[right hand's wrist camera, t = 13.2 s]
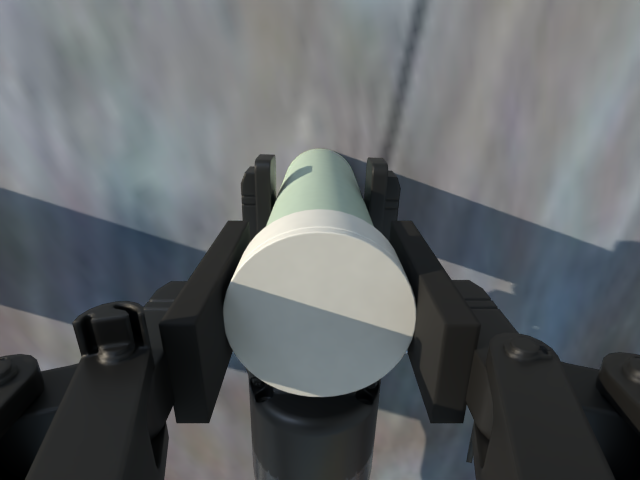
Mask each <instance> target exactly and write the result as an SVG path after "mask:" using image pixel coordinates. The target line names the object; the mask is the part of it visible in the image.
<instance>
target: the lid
mask: <svg viewBox="0 0 640 480" xmlns="http://www.w3.org/2000/svg"><path fill="white" fill-rule="evenodd" d="M416 312H417V308H416V301H415V296H414V293H413V290H412V287H411V285H410V283H409V280H408V278H407V276H406V274H405V271H404V269H403V267H402V265H401V263H400V260H399V258H398V256H397V254H396V252H395V250H394V248H393V247H392V245H391V244H390V243H389V241H388V240H387V239H386V238H385V237H384V236H383V234H382V233H381V232H379V231H378V230H377V229H376V228H375V227H373V226H372V225H371V224H369V223H367V222H366V221H364V220H362V219H360V218H358V217H356V216H353V215H351V214H347V213H344V212H340V211H334V210H324V209H314V210H305V211H300V212H295V213H292V214H289V215H286V216H284V217H282V218H280V219H278V220H276V221H274V222H272V223H271V224H269V225H268V226H266V227H265V228H264V229H262V230H261V231H260V232H259V233H258V234H257V235H256V236H255V237H254V238H253V240H252V241H251V242H250V243H249V245H248V246H247V248H246V250H245V251H244V253H243V255H242V257H241V260H240V262H239V264H238V266H237V268H236V271H235V273H234V275H233V277H232V279H231V282H230V284H229V286H228V289H227V291H226V295H225V299H224V305H223V316H224V326H225V333H226V336H227V339H228V342H229V344H230V346H231V348H232V350H233V352H234V354H235V355H236V356H237V358H238V359H239V360H240V362H241V363H242V364H243V365H244V366H245V367H246V368H247V369H248V370H249V371H250V372H251V373H252V374H253V375H255V376H256V377H257V378H259V379H260V380H262V381H263V382H265V383H267V384H269V385H271V386H273V387H275V388H277V389H279V390H282V391H285V392H288V393H292V394H296V395H301V396H309V397H330V396H338V395H344V394H348V393H351V392H355V391H358V390H360V389H363V388H365V387H367V386H369V385H371V384H373V383H375V382H376V381H378V380H379V379H381V378H382V377H384V376H385V375H386V374H387V373H389V372H390V371H391V370H392V369H393V368H394V367H395V366H396V365H397V364H398V362H399V361H400V360H401V359H402V357H403V356H404V354H405V353H406V351H407V349H408V347H409V345H410V343H411V341H412V338H413V335H414V332H415V324H416Z"/></svg>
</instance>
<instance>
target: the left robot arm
mask: <svg viewBox="0 0 640 480" xmlns="http://www.w3.org/2000/svg"><path fill="white" fill-rule="evenodd" d="M241 194H242V214H243V221H249V229H250V242H251V241H252V240H253V238H254V237H255V236H256V235H257V234H258V233H259V232H260V231H261V230H262V229H264V228H265V227H266V225H267V223H268V220H269V217H270V215H271V212H272V209H273V207H274V204H275V202H276V160H275V155H265V154H260V155H259V156H258V157H257V158H256V160H255V167H249V168H248V170H247V171H246V172H245V174H244V177H243V179H242V182H241ZM399 197H400V185H399V182H398V178H397V176H396V175H395V174H394V173H393V172H392V171H388V164H387V163H386V161H385V160H384V159H383V158H368V159H367V167H366V181H365V195H364V202H365V205H366V207H367V210H368V213H369V215H370V218H371V221H372V223H373V226H374V227H375V228H376V229H377V230H378V231H379V232H381V233H382V234H383V236H384V237H385V238H386V239H387V240H388V241H389V240H390V226H391V221H397V216H398V207H399ZM232 352H233V351H232ZM407 353H408V352H407V351H406V353H405V354H407ZM244 367H245V366H244ZM245 368H246V367H245ZM246 370H247V372H248V376H249V392H250V411H251V431H252V450H253V467H254V475H255V480H369V479H370V473H371V466H372V457H373V448H374V439H375V429H376V420H377V411H378V402H379V393H380V383H381V379H379V380H378V381H376V382H375V383H373V384H371V385H369V386H367V387H365V388H363V389H360V390H358V391H355V392H351V393H348V394H344V395H338V396H330V397H309V396H301V395H296V394H292V393H288V392H285V391H282V390H279V389H277V388H275V387H273V386H271V385H269V384H267V383H265V382H263V381H262V380H260V379H259V378H257V377H256V376H255V375H253V374H252V373H251V372H250V371H249V370H248V369H247V368H246Z"/></svg>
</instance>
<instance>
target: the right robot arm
mask: <svg viewBox="0 0 640 480" xmlns="http://www.w3.org/2000/svg"><path fill="white" fill-rule="evenodd" d="M249 243H250V229H249V221H228V222H227V223H226V225H225V226H224V228H223V229H222V231H221V232H220V234H219V235H218V237H217V238H216V240H215V241H214V243H213V244H212V245H211V247H210V248H209V250H208V251H207V253H206V254H205V256H204V257H203V259H202V260H201V262H200V263H199V265H198V266H197V268H196V269H195V271H194V272H193V274H192V275H191V277H190V278H189V280H188V281H171V282H169V283H168V284H166V285H164V286H163V287H161V288H159V289H158V290H157V291H156V292H155V293H154V295H153V296H152V297H151V298H150V300H149V302H147V303H146V305H145V306H144V307H142V306H141V305H140V304H138V303H135V302H130V301H118V302H111V303H107V304H102V305H99V306H97V307H94V308H92V309H89V310H88V311H86V312H84V313H83V314H81V315H79V316H78V317H77V318H76V319H75V320H74V322H73V323H72V324H73V327H74V331H75V334H76V338H77V342H78V345H79V349H80V352H81V356H82V358H81V360H80V362H79V363H78V364H74V365H71V366H66V367H61V368H56V369H51V370H46V371H40V368H39V365H38V362H37V360H36V359H35V358H34V357H32V356H31V355H24V354H17V355H9V356H3V357H0V480H164V476H165V467H166V458H167V449H168V440H169V436H168V429H167V424H166V420H167V418H168V416H169V413H170V411H171V409H172V407H173V406H174V412H175V417H176V422H177V423H209V422H210V419H211V416H212V413H213V410H214V407H215V403H216V400H217V397H218V394H219V391H220V388H221V385H222V382H223V379H224V376H225V373H226V370H227V367H228V364H229V361H230V358H231V355H232V351H233V350H232V348H231V346H230V344H229V342H228V339H227V336H226V333H225V326H224V316H223V305H224V299H225V295H226V291H227V289H228V286H229V284H230V282H231V279H232V277H233V275H234V273H235V271H236V268H237V266H238V264H239V262H240V260H241V257H242V255H243V253H244V251H245V250H246V248H247V246H248V245H249ZM389 243H390V244H391V245H392V247H393V248H394V250H395V252H396V254H397V256H398V258H399V260H400V263H401V265H402V267H403V269H404V271H405V274H406V276H407V278H408V280H409V283H410V285H411V287H412V290H413V293H414V296H415V301H416V308H417V312H416V324H415V332H414V335H413V338H412V341H411V343H410V345H409V347H408V349H407V352H408V355H409V358H410V361H411V364H412V367H413V371H414V374H415V377H416V380H417V383H418V386H419V389H420V392H421V395H422V398H423V401H424V404H425V407H426V410H427V413H428V416H429V419H430V423H463V421H464V416H465V410H466V405H468V408H469V410H470V412H471V414H472V416H473V419H474V424H473V429H472V434H471V439H470V445H469V450H468V455H467V461H466V462H469V463H472V459H473V457H474V466H475V475H476V480H640V355H637V354H630V353H622V352H618V353H611V354H608V355H607V356H606V357H604V358H603V361H602V364H601V367H600V370H598V369H593V368H588V367H583V366H578V365H573V364H568V363H564V362H561V361H560V359H559V357H558V356H557V354H556V353H555V352H554V350H553V349H552V348H551V347H549V346H548V345H546V344H545V343H543V342H542V341H540V340H538V339H535V338H533V337H531V336H527V335H523V334H519V333H518V332H517V331H516V330H515V328H514V327H513V326H512V325H511V323H510V322H509V321H508V320H507V318H506V317H505V316H504V315H503V313H502V312H501V311H500V310H499V309H497V306H496V305H495V303H494V302H493V301H491V298H490V297H489V296H488V295H487V293H486V292H485V291H484V290H483V288H481V287H479V286H478V285H476V284H474V283H473V282H471V281H470V280H451V279H450V277H449V276H448V274H447V273H446V271H445V270H444V268H443V267H442V265H441V264H440V262H439V261H438V259H437V258H436V256H435V255H434V253H433V252H432V250H431V249H430V247H429V246H428V244H427V243H426V241H425V240H424V238H423V237H422V235H421V234H420V232H419V231H418V230H417V228H416V227H415V225H414V224H413V222H412V221H391V226H390V240H389Z"/></svg>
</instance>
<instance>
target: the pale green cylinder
mask: <svg viewBox="0 0 640 480" xmlns="http://www.w3.org/2000/svg"><path fill="white" fill-rule="evenodd" d="M314 209H324V210H334V211H340V212H344V213H347V214H351V215H353V216H356V217H358V218H360V219H362V220H364V221H366V222H367V223H369V224H371V225H372V226H373V223H372V221H371V218H370V215H369V213H368V210H367V207H366V205H365V202H364V200H363V197H362V194H361V192H360V189H359V186H358V184H357V181H356V178H355V176H354V173H353V171H352V168H351V166H350V165H349V163H348V162H347V161H346V160H345V159H344V158H343V157H342V156H341V155H339V154H338V153H336V152H334V151H331V150H327V149H313V150H309V151H306V152H304V153H302V154H301V155H299V156H298V157H297V158H296V159H295V160H294V161H293V162H292V163H291V165H290V166H289V168H288V170H287V173H286V175H285V178H284V181H283V183H282V186H281V189H280V191H279V194H278V196H277V199H276V202H275V204H274V207H273V209H272V212H271V215H270V217H269V220H268V223H267V225H266V226H268V225H269V224H271V223H272V222H274V221H276V220H278V219H280V218H282V217H284V216H286V215H289V214H292V213H295V212H300V211H305V210H314ZM373 227H374V226H373Z"/></svg>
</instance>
